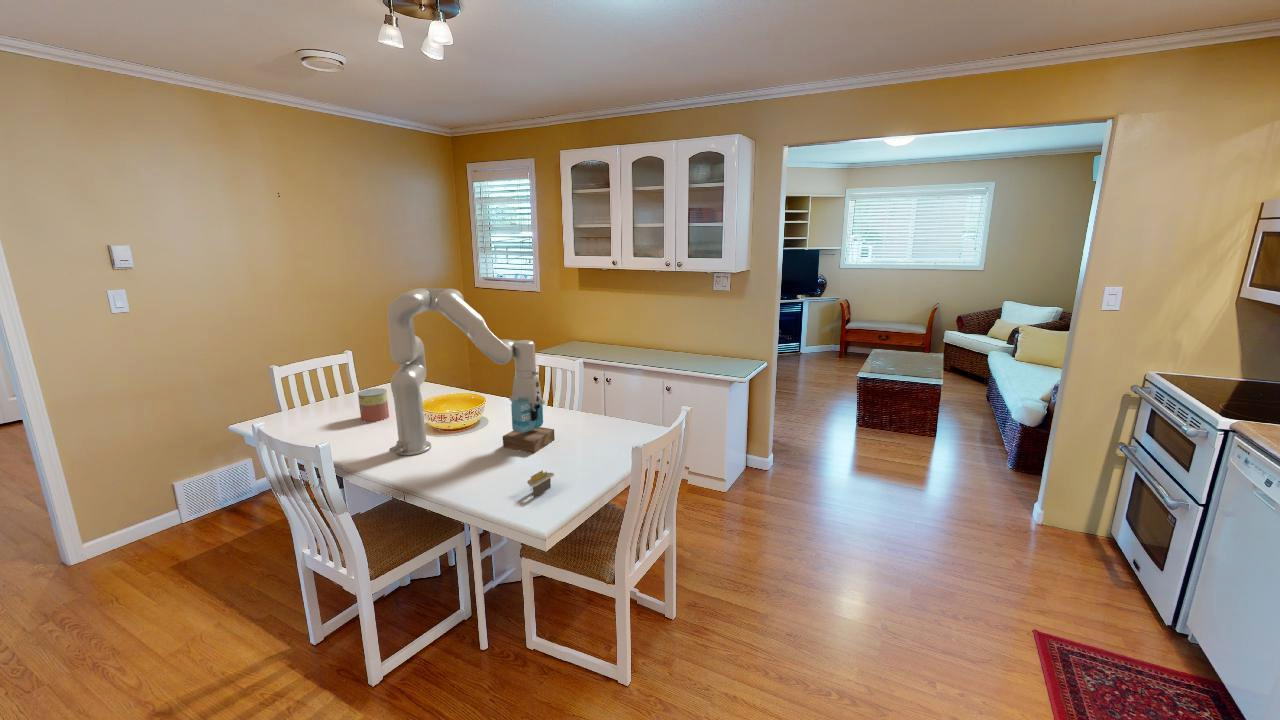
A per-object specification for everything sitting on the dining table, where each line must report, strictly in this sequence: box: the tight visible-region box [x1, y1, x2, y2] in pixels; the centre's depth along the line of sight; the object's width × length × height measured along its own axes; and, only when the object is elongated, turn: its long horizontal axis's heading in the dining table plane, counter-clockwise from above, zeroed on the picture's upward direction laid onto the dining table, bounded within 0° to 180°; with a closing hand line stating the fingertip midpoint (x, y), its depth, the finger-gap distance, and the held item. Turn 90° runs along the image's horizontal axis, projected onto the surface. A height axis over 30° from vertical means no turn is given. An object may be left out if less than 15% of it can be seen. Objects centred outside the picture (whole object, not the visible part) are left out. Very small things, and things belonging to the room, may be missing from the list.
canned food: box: [357, 387, 390, 423], centre depth 240 cm, size 11×11×12 cm
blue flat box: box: [510, 400, 544, 433], centre depth 210 cm, size 12×4×12 cm, turn 145°
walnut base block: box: [502, 426, 556, 454], centre depth 212 cm, size 14×14×5 cm
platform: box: [526, 469, 555, 498], centre depth 173 cm, size 12×18×7 cm, turn 149°
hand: (527, 418), depth 210 cm, fingers closed on blue flat box, 5 cm apart
